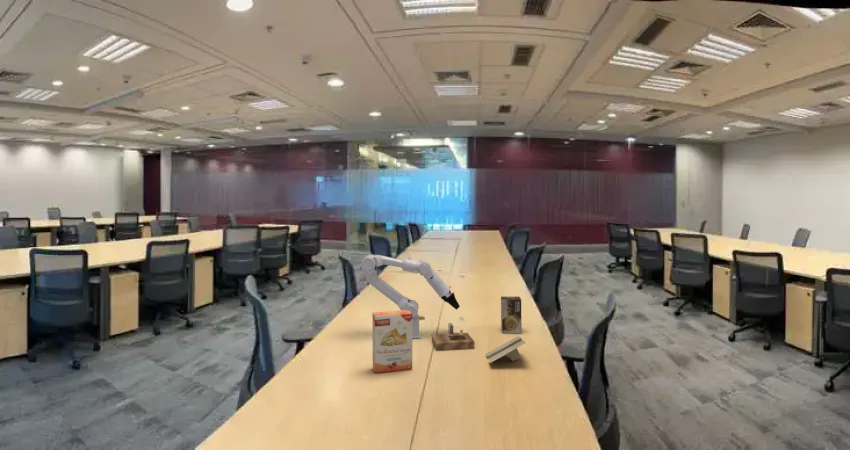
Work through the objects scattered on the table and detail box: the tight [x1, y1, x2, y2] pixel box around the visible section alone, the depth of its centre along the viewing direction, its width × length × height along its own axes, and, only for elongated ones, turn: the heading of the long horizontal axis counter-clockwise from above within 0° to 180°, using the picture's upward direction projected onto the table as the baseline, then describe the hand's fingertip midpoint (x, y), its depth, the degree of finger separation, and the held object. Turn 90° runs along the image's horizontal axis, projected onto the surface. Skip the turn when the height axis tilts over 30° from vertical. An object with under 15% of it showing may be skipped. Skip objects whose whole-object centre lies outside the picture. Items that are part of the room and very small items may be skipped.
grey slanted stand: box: [485, 335, 527, 364], centre depth 160 cm, size 16×9×15 cm
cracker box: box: [372, 310, 413, 374], centre depth 152 cm, size 14×6×21 cm, turn 105°
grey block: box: [447, 322, 456, 334], centre depth 189 cm, size 5×4×6 cm
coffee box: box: [500, 296, 523, 334], centre depth 196 cm, size 9×6×16 cm
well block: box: [431, 332, 476, 352], centre depth 178 cm, size 16×12×3 cm
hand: (456, 306), depth 190 cm, fingers open, 7 cm apart
